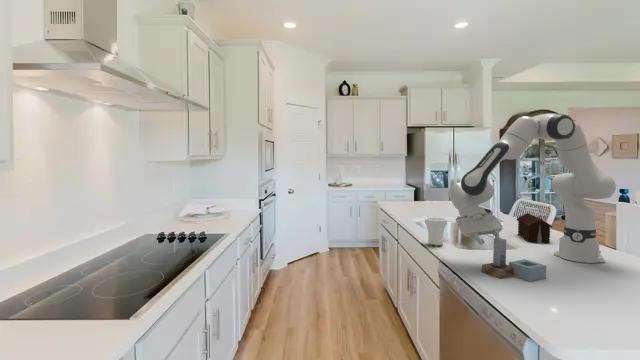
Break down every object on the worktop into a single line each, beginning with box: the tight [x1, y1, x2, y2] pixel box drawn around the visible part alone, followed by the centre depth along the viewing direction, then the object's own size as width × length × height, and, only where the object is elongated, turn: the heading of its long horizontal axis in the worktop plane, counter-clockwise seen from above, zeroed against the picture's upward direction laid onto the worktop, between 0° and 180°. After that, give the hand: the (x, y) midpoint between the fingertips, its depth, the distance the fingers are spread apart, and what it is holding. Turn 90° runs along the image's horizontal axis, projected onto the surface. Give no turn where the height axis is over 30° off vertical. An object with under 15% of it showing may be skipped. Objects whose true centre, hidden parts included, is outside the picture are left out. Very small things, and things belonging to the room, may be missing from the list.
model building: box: [516, 212, 553, 244], centre depth 201 cm, size 21×12×15 cm, turn 167°
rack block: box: [508, 259, 547, 282], centre depth 140 cm, size 9×9×5 cm
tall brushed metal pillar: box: [492, 237, 507, 269], centre depth 143 cm, size 3×3×14 cm
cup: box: [424, 216, 448, 248], centre depth 189 cm, size 11×11×14 cm
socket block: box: [481, 262, 515, 280], centre depth 143 cm, size 9×9×3 cm
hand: (490, 242), depth 147 cm, fingers open, 8 cm apart
